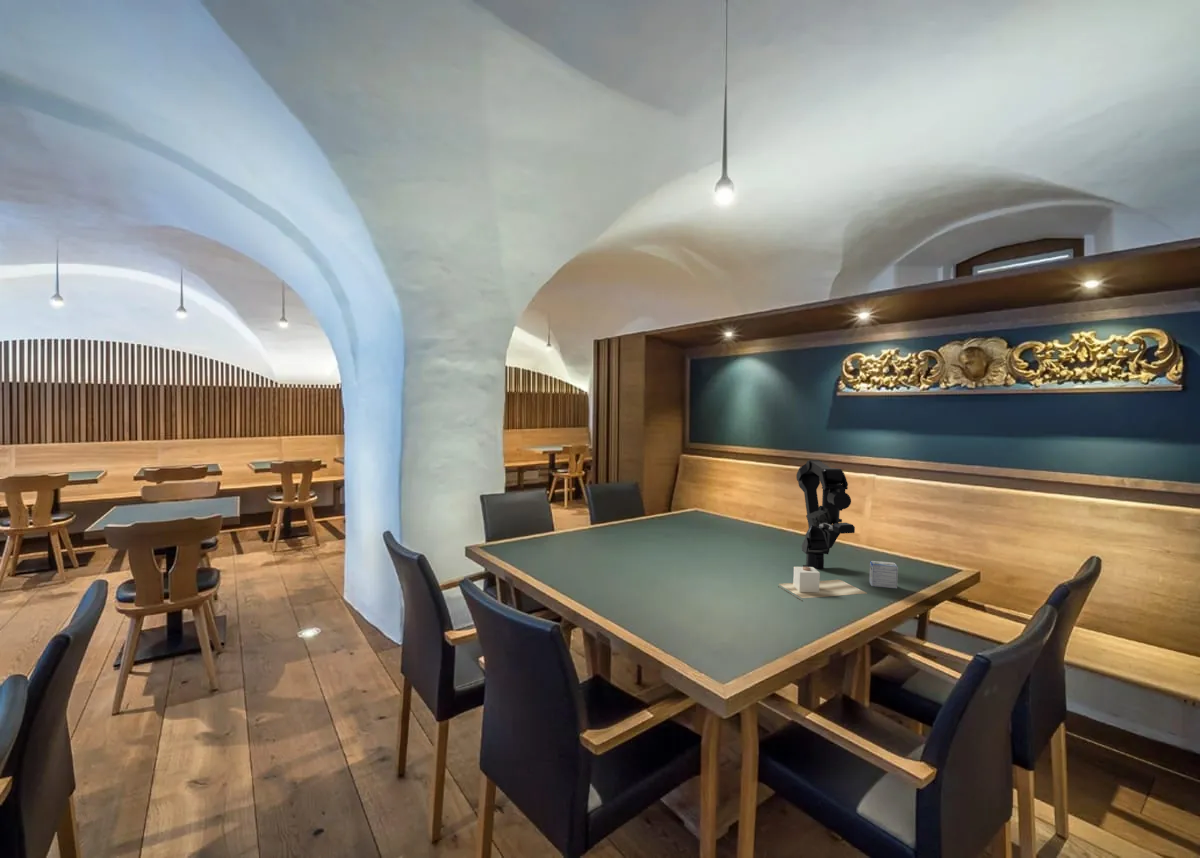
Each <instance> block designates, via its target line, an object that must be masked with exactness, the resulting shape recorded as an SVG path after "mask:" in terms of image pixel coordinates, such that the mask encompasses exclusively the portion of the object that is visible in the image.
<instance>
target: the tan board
mask: <svg viewBox="0 0 1200 858" xmlns="http://www.w3.org/2000/svg"><path fill="white" fill-rule="evenodd" d="M777 587H778V588H779V589H781V590H783V591H784V592H786V593H787V594H789V595H791V596H792V597H794V598H796V599H798V600H799V601H801V602H803V600H802V599H812V598H813V599H814V598H825V597H838V596H839V597H840V596H848V595H850V596H851V595H864V594H865V595H866V594H867V592H866V591H864V590H862V589H859V588H858V587H856V586H853V585H851V584H849V583H847V582H845V581H844V580H841V579H832V580H831V579H829V580H820V585H819V593H817V592H799V591H798V590H797V589H796V588H795V587H794V586H793V582H785V583H778V586H777ZM792 593H793V594H792Z"/></svg>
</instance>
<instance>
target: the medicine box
mask: <svg viewBox="0 0 1200 858" xmlns="http://www.w3.org/2000/svg"><path fill="white" fill-rule="evenodd" d="M898 574H899V566H898V565H897V564H896V563H895V562H892V561H891V562H890V561H881V560H880V561H877V560H870V562H869V580H868V581H869V584H870V585H871V587H876V588H877V587H879V588H890V589H898V577H899V575H898Z"/></svg>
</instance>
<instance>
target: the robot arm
mask: <svg viewBox="0 0 1200 858" xmlns="http://www.w3.org/2000/svg"><path fill="white" fill-rule="evenodd" d="M796 481H797V483H798V487H799V488H800V489H801V490H802V492H803V495H804V501H805V502H804V503H805V510H806V519H807V524H808V529H807V530H806V533H805V536H804V540H803V542H802V544H801V551H802V552H803V553H804V554H806V561H805V564H803V565H802V567H814V568H815V569H816V570H824V569H825V567H824V566H825V559H824V558H825V555H829V553H830V549H831V548H833V546H834V544H835V542H836V541H837V539H838V537H840V535H841V534H855V533H856V531H855V529H856V528H855V525H854V524H851V523H848V522H843V519H841V518H840V511H841V512H842V511H843V510H846V509H848V508H849V507H850V506H851V504H852V499H851V497H850V495H849V494H848V493H847V492H846V490H848V489H849V487H848V486H849V483H848V481H847V478H846V475H845V472H844V471H843V470H842V468H836V467H830V466H828V465H827V464H825V463H823V462H822V460H819V459H808V460H807V461H806V463H805V464H802V466H800V467H799V468H798V470H797V472H796ZM820 484H821V489H822V498H821V500H822V501H821V503H822V504H821V505H819V504H820V503H819V499H818V491H817V490H818V488H819V486H820Z"/></svg>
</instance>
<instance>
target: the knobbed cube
mask: <svg viewBox="0 0 1200 858" xmlns="http://www.w3.org/2000/svg"><path fill="white" fill-rule="evenodd" d="M820 575H821V573H820V571H818V569H815V568H814V567H803V566H793V580H792V583H793V586H794V587H795V588H796V589H797V590H798V591H799V592H817V593H819V585H820V581H821V579H820V578H821V576H820Z"/></svg>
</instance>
